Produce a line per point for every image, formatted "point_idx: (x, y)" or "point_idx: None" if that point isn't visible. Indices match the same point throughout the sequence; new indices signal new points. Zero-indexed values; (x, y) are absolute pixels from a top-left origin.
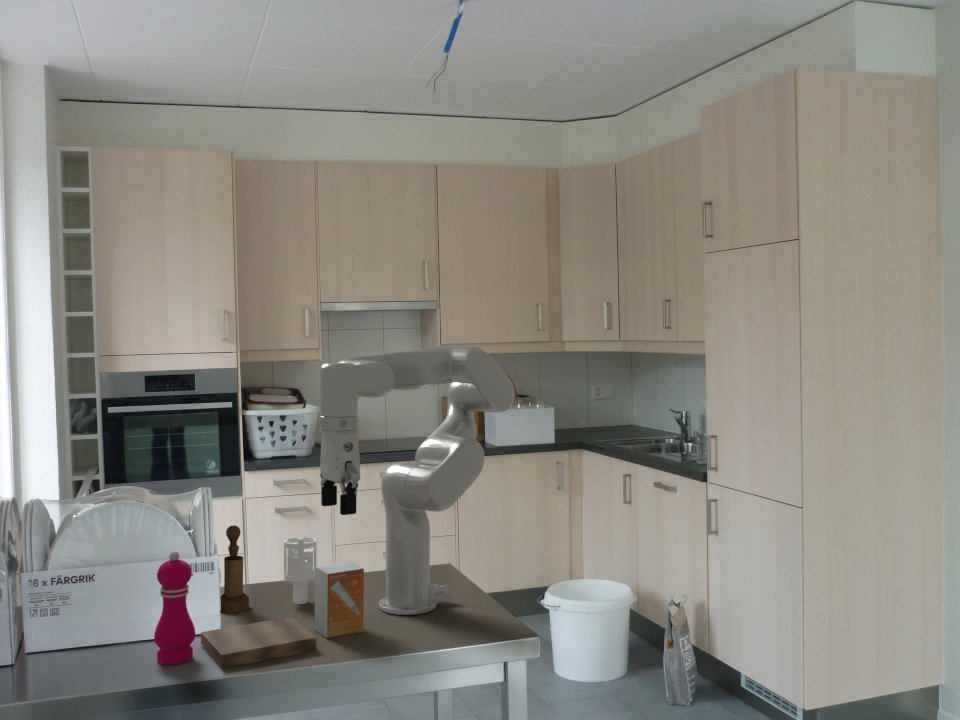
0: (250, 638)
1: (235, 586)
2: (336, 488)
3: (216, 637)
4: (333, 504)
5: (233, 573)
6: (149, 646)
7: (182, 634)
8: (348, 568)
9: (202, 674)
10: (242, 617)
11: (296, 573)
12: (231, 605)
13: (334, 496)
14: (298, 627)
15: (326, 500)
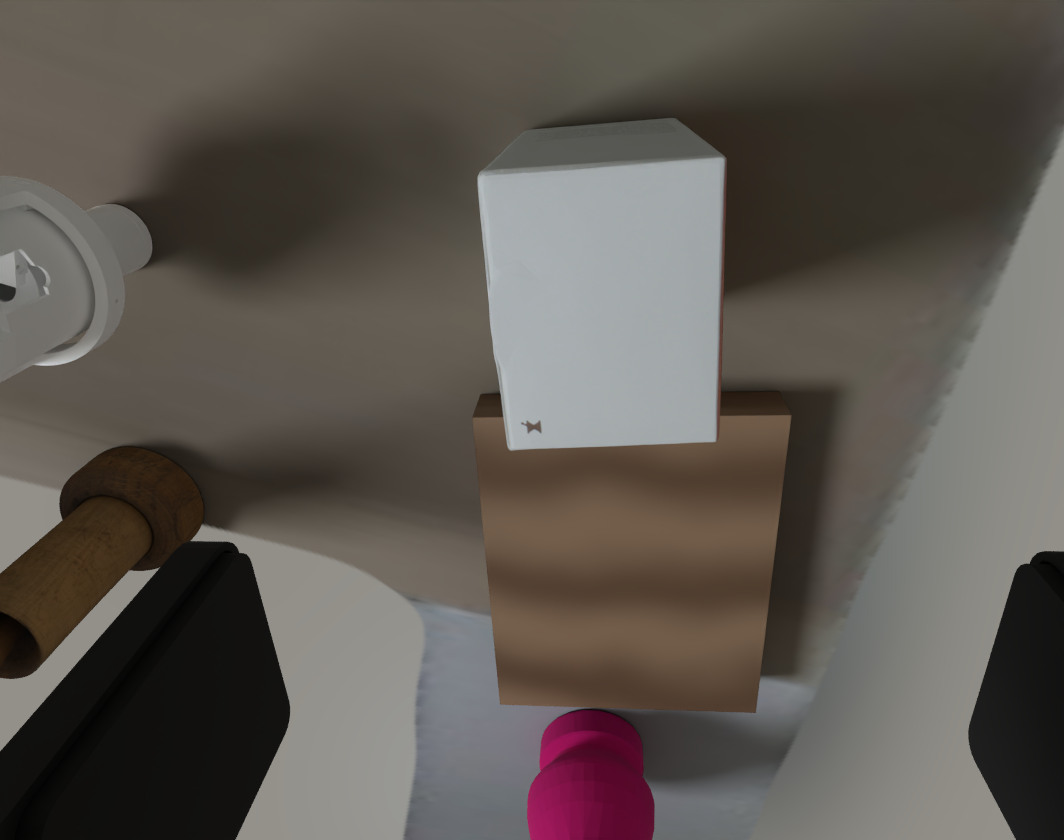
0: (652, 608)
1: (121, 560)
2: (72, 796)
3: (578, 683)
4: (257, 596)
5: (85, 608)
6: (448, 766)
7: (652, 825)
8: (668, 271)
9: (756, 721)
10: (265, 500)
11: (74, 324)
12: (187, 537)
13: (181, 681)
14: None
15: (248, 745)
